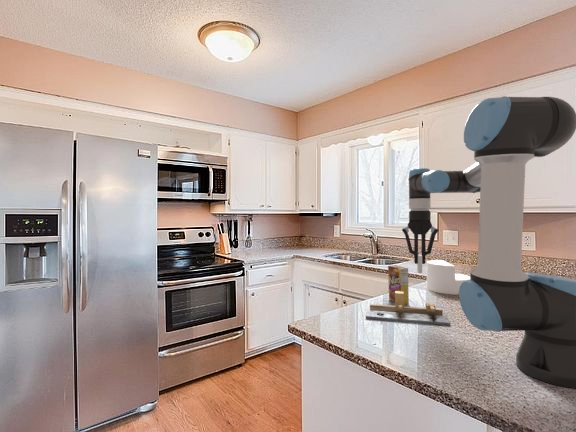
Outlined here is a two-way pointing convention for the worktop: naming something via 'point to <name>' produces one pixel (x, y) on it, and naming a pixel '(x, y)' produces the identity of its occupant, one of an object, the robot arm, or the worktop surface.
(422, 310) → the beam
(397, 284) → the candy box
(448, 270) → the container
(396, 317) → the plate
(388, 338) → the worktop surface
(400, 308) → the jaw
